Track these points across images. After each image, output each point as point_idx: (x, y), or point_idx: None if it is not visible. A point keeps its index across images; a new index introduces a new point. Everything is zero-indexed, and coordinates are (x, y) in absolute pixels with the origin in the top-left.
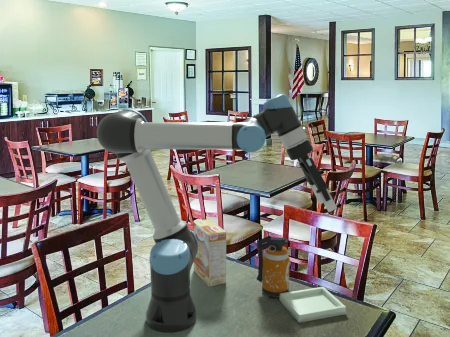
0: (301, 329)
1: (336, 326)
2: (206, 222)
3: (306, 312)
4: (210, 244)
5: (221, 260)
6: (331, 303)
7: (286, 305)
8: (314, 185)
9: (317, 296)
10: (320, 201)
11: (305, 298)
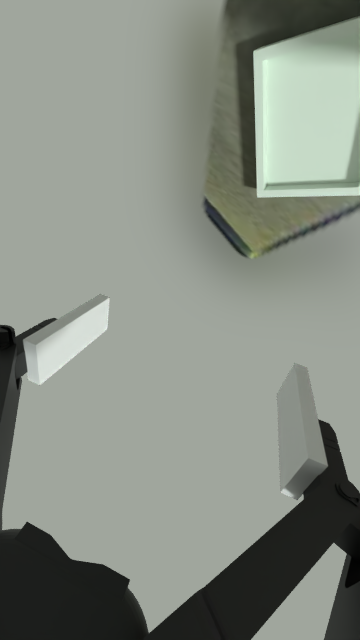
0: (231, 44)
1: (227, 148)
2: None
3: (260, 82)
4: None
5: None
6: (298, 179)
7: (349, 19)
8: (295, 468)
9: (347, 160)
10: (291, 377)
11: (355, 117)
